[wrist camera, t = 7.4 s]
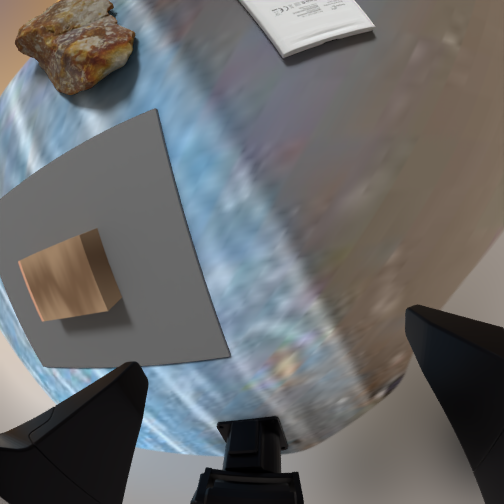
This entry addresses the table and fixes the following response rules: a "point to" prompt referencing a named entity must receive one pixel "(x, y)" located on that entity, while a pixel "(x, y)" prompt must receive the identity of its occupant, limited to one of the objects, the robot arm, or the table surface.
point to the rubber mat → (114, 253)
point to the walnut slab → (71, 278)
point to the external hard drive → (307, 22)
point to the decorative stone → (76, 43)
